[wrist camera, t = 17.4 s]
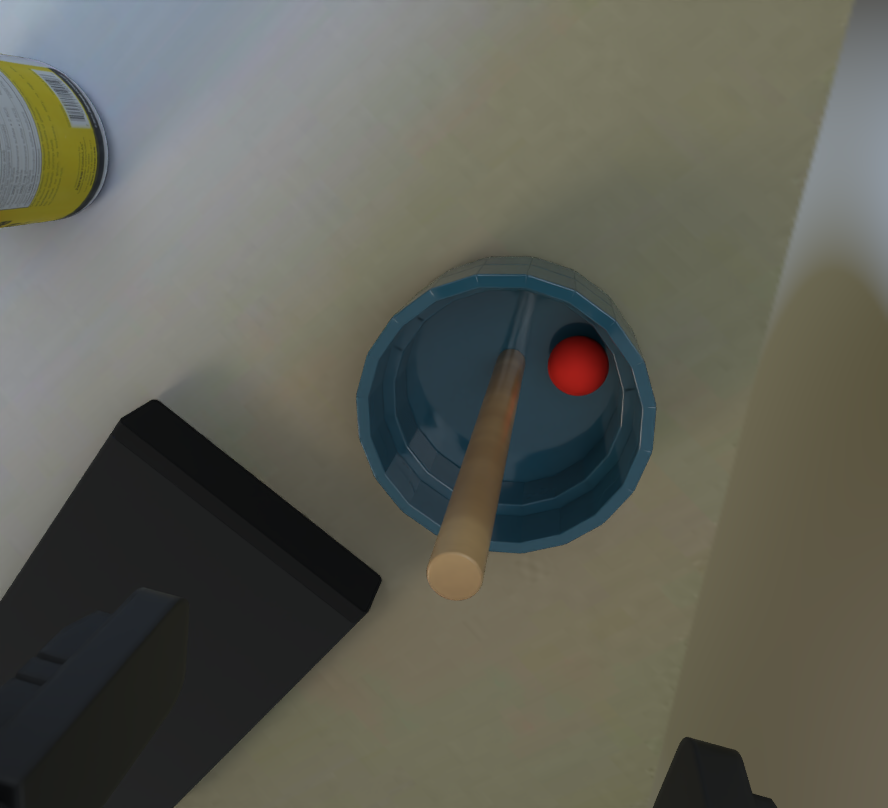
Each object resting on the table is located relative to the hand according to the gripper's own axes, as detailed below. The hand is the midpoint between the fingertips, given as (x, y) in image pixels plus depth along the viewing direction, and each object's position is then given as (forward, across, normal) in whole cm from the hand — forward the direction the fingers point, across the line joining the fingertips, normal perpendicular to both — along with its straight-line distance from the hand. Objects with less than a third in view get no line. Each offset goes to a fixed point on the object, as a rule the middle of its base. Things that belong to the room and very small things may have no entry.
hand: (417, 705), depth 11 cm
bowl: (+20, 0, +1) cm, 20 cm away
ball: (+18, -3, -1) cm, 19 cm away
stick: (+20, 0, 0) cm, 20 cm away
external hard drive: (+20, +16, +20) cm, 32 cm away
